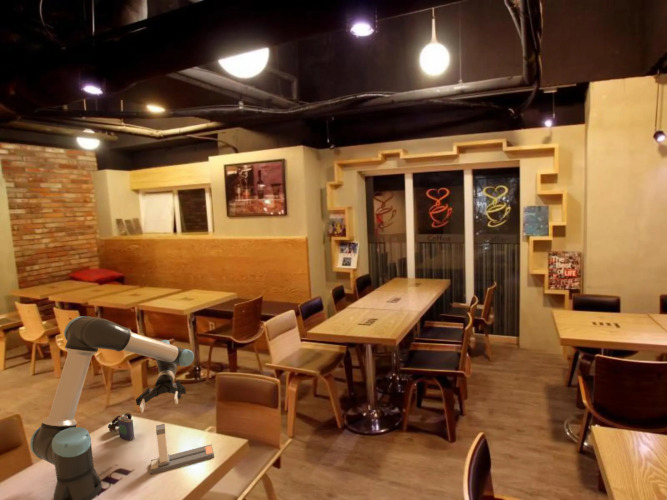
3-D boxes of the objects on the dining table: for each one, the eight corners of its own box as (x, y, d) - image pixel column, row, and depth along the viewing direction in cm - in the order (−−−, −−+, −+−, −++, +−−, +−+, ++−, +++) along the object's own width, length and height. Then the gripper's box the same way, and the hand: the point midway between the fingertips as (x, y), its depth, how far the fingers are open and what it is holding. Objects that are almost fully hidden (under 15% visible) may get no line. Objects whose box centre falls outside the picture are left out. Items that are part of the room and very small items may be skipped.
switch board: (150, 474, 163) (150, 470, 163) (151, 463, 170) (150, 459, 170) (214, 457, 172) (213, 453, 172) (211, 447, 179) (211, 444, 179)
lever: (158, 466, 165) (154, 431, 164) (158, 458, 170) (155, 425, 169) (169, 463, 166) (165, 428, 165) (169, 456, 172) (165, 422, 170)
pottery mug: (128, 436, 194) (116, 424, 192) (113, 443, 196) (101, 431, 194) (140, 417, 205) (129, 405, 203) (126, 424, 207) (115, 413, 205)
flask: (136, 438, 191) (133, 416, 190) (130, 441, 188) (127, 419, 187) (123, 434, 195) (120, 412, 194) (117, 437, 193) (114, 415, 192)
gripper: (194, 382, 196) (191, 406, 176) (138, 395, 191) (128, 421, 170) (191, 367, 195) (188, 390, 175) (134, 380, 189) (124, 405, 169)
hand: (158, 405), depth 173 cm, fingers open, 13 cm apart
